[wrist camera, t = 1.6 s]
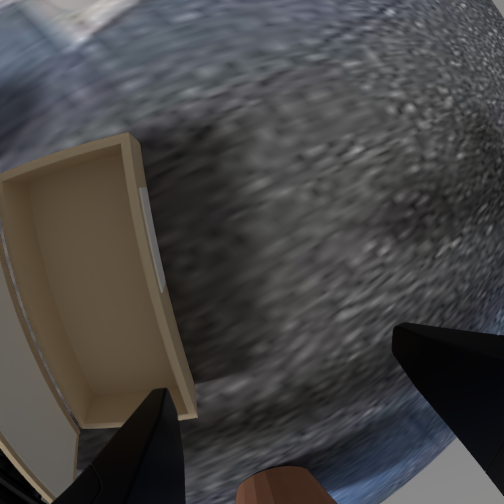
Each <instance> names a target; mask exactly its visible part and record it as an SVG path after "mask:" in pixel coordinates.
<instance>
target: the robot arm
mask: <svg viewBox="0 0 504 504" xmlns="http://www.w3.org/2000/svg"><path fill="white" fill-rule="evenodd" d="M392 352H393V355H394V356H395V358H396V359H397V361H398V362H399V364H400V365H401V367H402V368H403V370H404V371H405V373H406V374H407V375H408V377H409V378H410V380H411V381H412V383H413V384H414V386H415V387H416V388H417V389H418V391H419V392H420V393H421V394H422V395H423V397H424V398H425V399H426V400H427V401H428V403H429V404H430V405H431V406H432V407H433V408H434V410H435V411H436V412H437V413H438V414H439V416H440V417H441V418H442V419H443V420H444V422H445V423H446V424H447V425H448V426H449V428H450V429H451V430H452V431H453V433H454V434H455V435H456V436H457V437H458V439H459V440H460V441H461V442H462V443H463V445H464V446H465V447H466V448H467V450H468V451H469V452H470V453H471V455H472V456H473V457H474V458H475V460H476V461H477V462H478V463H479V465H480V466H481V467H482V469H483V470H484V471H486V474H487V475H488V476H489V478H490V479H491V480H492V482H493V483H494V484H495V485H496V487H497V488H498V489H499V491H500V492H501V493H502V494H503V496H504V335H496V334H487V333H479V332H471V331H463V330H456V329H448V328H441V327H434V326H427V325H420V324H414V323H407V322H404V323H401V324H399V325H396V326H395V327H394V328H393V336H392ZM41 497H42V495H41V494H40V493H39V492H38V491H37V490H36V489H35V488H34V487H33V486H32V485H31V484H30V483H29V482H28V481H27V480H26V478H25V477H24V476H23V475H22V474H21V473H20V472H19V471H18V469H17V468H16V467H15V466H14V465H13V463H12V462H11V461H10V460H9V459H8V457H7V456H6V455H5V453H4V452H3V451H2V450H1V448H0V504H47V503H45V502H43V501H42V500H41ZM51 504H186V500H185V473H184V456H183V449H182V442H181V435H180V428H179V420H178V414H177V410H176V407H175V405H174V402H173V400H172V397H171V395H170V392H169V390H168V389H167V388H166V387H164V388H157V389H153V390H152V391H151V392H150V393H149V394H148V396H147V397H146V398H145V399H144V400H143V401H142V403H141V404H140V405H139V406H138V407H137V409H136V410H135V411H134V412H133V413H132V415H131V416H130V417H129V418H128V419H127V420H126V422H125V423H124V424H123V425H122V426H121V427H120V429H119V430H118V431H117V432H116V433H115V435H114V436H113V437H112V438H111V439H110V440H109V442H108V443H107V444H106V445H105V446H104V447H103V449H102V450H101V451H100V452H99V453H98V454H97V456H96V457H95V458H94V459H93V460H92V461H91V465H90V464H89V465H88V466H87V467H86V468H85V469H84V471H83V472H82V473H81V474H80V475H79V476H78V477H77V478H76V479H75V481H74V482H73V483H72V484H71V485H70V486H69V487H68V488H67V489H66V490H65V491H64V492H63V493H61V494H60V495H59V496H58V497H57V498H56V499H55V500H54V501H53V502H52V503H51Z"/></svg>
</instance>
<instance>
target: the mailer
mask: <svg viewBox="0 0 504 504" xmlns="http://www.w3.org/2000/svg"><path fill="white" fill-rule="evenodd" d="M0 216H1V222H2V227H3V232H4V237H5V242H6V246H7V250H8V255H9V259H10V263H11V266H12V270H13V274H14V277H15V281H16V284H17V287H18V291H19V294H20V297H21V300H22V303H23V306H24V309H25V312H26V314H27V317H28V320H29V323H30V325H31V328H32V330H33V333H34V336H35V338H36V340H37V343H38V345H39V348H40V350H41V352H42V354H43V357H44V359H45V361H46V363H47V365H48V368H49V370H50V372H51V374H52V376H53V378H54V380H55V382H56V384H57V386H58V388H59V390H60V392H61V394H62V395H63V397H64V399H65V401H66V403H67V405H68V406H69V408H70V410H71V412H72V413H73V415H74V417H75V418H76V420H77V422H78V423H79V425H80V427H81V428H82V429H92V428H113V427H121V426H122V425H123V424H124V423H125V422H126V420H127V419H128V418H129V417H130V416H131V415H132V413H133V412H134V411H135V410H136V409H137V407H138V406H139V405H140V404H141V403H142V401H143V400H144V399H145V398H146V397H147V396H148V394H149V393H150V392H151V391H152V390H153V389H157V388H164V387H166V388H167V389H168V390H169V392H170V395H171V397H172V400H173V402H174V405H175V407H176V410H177V414H178V420H186V419H192V418H198V416H197V405H196V394H195V384H194V381H193V377H192V374H191V371H190V368H189V365H188V361H187V358H186V355H185V351H184V348H183V344H182V341H181V337H180V334H179V330H178V327H177V323H176V319H175V315H174V312H173V308H172V304H171V300H170V296H169V292H168V288H167V284H166V279H165V275H164V271H163V267H162V262H161V258H160V253H159V248H158V244H157V239H156V234H155V229H154V224H153V219H152V213H151V208H150V202H149V197H148V191H147V185H146V179H145V173H144V166H143V159H142V152H141V145H140V142H139V141H138V140H137V139H135V138H134V137H133V136H132V135H131V134H130V133H129V132H127V133H123V134H119V135H115V136H111V137H107V138H103V139H100V140H96V141H92V142H89V143H85V144H82V145H79V146H75V147H72V148H69V149H66V150H63V151H60V152H57V153H54V154H51V155H48V156H45V157H42V158H39V159H36V160H34V161H31V162H28V163H26V164H23V165H20V166H18V167H15V168H13V169H10V170H8V171H6V172H3V173H1V174H0Z"/></svg>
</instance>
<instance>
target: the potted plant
mask: <svg viewBox="0 0 504 504" xmlns="http://www.w3.org/2000/svg"><path fill="white" fill-rule="evenodd" d="M236 504H337V503H336V501H335V500H334V499H333V498H332V497H331V496H330V495H329V494H328V493H327V491H326V490H325V489H324V488H323V487H322V486H321V485H320V483H319V482H318V481H317V480H316V479H315V478H314V476H313V475H312V474H311V473H310V472H309V471H308V470H307V469H305V468H302V467H297V466H283V467H275V468H272V469H268V470H264V471H262V472H259V473H257V474H255V475H253V476H251V477H250V478H248V479H246V480H245V481H244V482H243V483H242V484H241V485H240V486H239V487H238V490H237V495H236Z"/></svg>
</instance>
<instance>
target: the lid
mask: <svg viewBox="0 0 504 504" xmlns="http://www.w3.org/2000/svg"><path fill="white" fill-rule="evenodd" d="M80 433H81V432H80V430H79V429H78V427H77V426H76V424H75V422H74V421H73V419H72V417H71V416H70V414H69V412H68V411H67V409H66V407H65V405H64V404H63V402H62V400H61V398H60V396H59V394H58V393H57V391H56V389H55V387H54V385H53V383H52V381H51V379H50V377H49V375H48V373H47V371H46V369H45V367H44V364H43V362H42V360H41V358H40V356H39V353H38V351H37V349H36V347H35V344H34V342H33V339H32V337H31V334H30V332H29V329H28V327H27V324H26V322H25V319H24V316H23V313H22V311H21V308H20V305H19V302H18V299H17V296H16V293H15V289H14V286H13V283H12V279H11V276H10V272H9V269H8V265H7V261H6V257H5V253H4V249H3V244H2V240H1V235H0V448H1V450H2V451H3V452H4V453H5V455H6V456H7V457H8V459H9V460H10V461H11V462H12V463H13V465H14V466H15V467H16V468H17V469H18V471H19V472H20V473H21V474H22V475H23V476H24V477H25V478H26V480H27V481H28V482H29V483H30V484H31V485H32V486H33V487H34V488H35V489H36V490H37V491H38V492H39V493H40V494H41V495H42V496H43V497H44V498H45V499H46V500H47V501H48V502H49V503H50V504H51V503H52V502H53V501H54V500H55V499H56V498H57V497H58V496H59V495H60V494H61V493H63V492H64V491H65V490H66V489H67V488H68V487H69V486H70V485H71V484H72V483H73V482H74V481H75V479H76V468H77V453H78V441H79V436H78V435H79V434H80Z"/></svg>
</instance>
